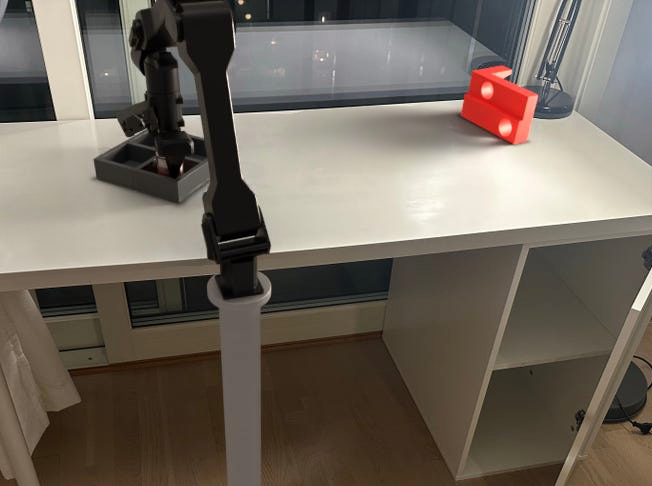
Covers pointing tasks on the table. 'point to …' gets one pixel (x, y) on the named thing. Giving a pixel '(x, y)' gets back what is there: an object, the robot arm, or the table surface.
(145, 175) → the organiser
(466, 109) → the bracket
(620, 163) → the table surface
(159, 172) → the pill bottle
